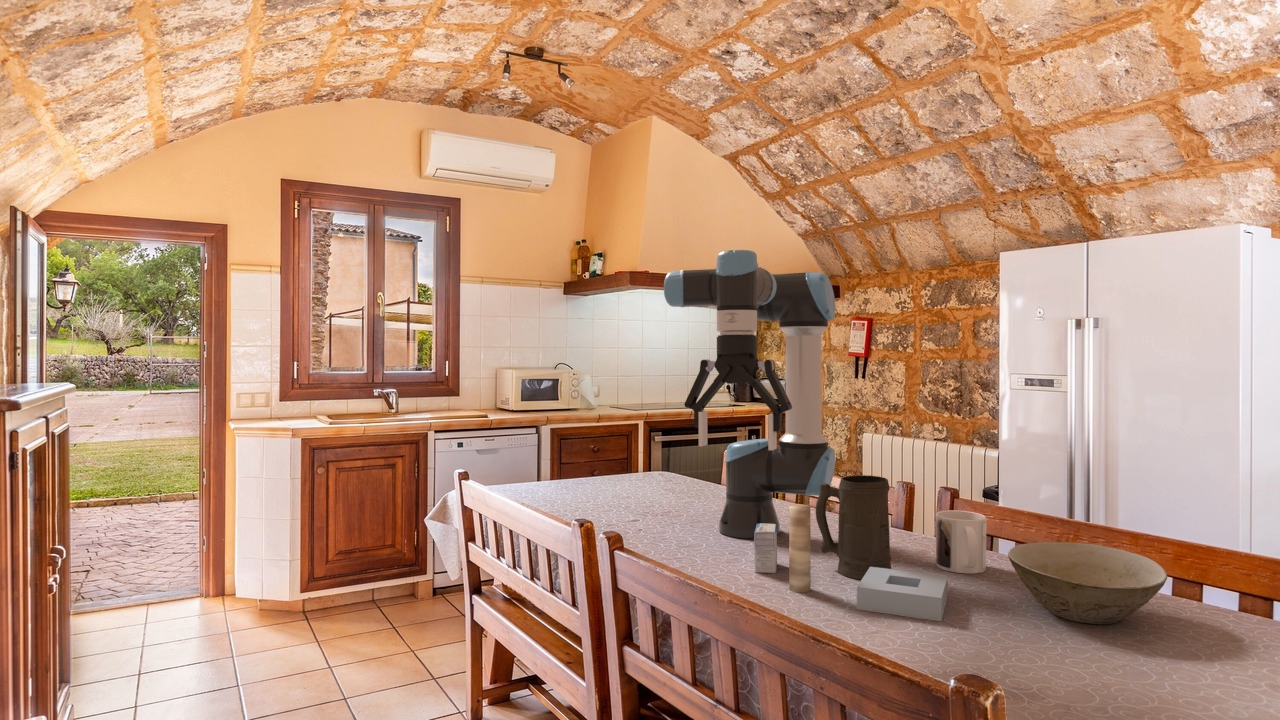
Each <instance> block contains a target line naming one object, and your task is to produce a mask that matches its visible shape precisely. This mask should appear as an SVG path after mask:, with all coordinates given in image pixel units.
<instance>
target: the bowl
mask: <svg viewBox="0 0 1280 720" xmlns="http://www.w3.org/2000/svg"><path fill="white" fill-rule="evenodd" d="M1007 556H1008V557H1007V558H1008V559H1009V561H1010V564H1011V566H1012V567H1013V569H1014V571H1015V572H1016V574H1017V575H1018V577H1019V579H1020V580H1021V582H1022V583H1023V584H1024V586H1026V588H1027V590H1028V591H1029V592H1030V593H1031V594H1032V595H1033V596H1034V598H1035V599H1036V600H1037V601H1038V602H1039V603H1040V604H1041V605H1042V606H1043V607H1044V608H1045V609H1046V610H1047V611H1049V613H1051V614H1053V615H1054V616H1057V617H1060V618H1062V619H1066V620H1069V621H1074V622H1078V623H1084V624H1085V623H1086V624H1092V625H1110V624H1116V623H1119V622H1121V621H1122V620H1124V619H1125V618H1127V617H1129V616H1131V615H1132V614H1133V613H1135V612H1136V611H1138V610H1139V609H1141V608H1142V607H1143V606H1145V605H1146V604H1147V603H1149V601H1150V600H1151V599H1152V598H1153V597H1155V595H1156V594H1158V593H1159V591H1161V589H1162V588H1163V587H1164V585H1165V584H1166V581H1167V579H1168V575H1167V572H1166V570H1165V569H1164V567H1162V566H1161V565H1160V564H1159V563H1157V562H1156V561H1154V560H1153V559H1151V558H1149V557H1146V556H1145V555H1141V554H1137V553H1135V552H1131V551H1127V550H1123V549H1119V548H1115V547H1110V546H1106V545H1105V546H1104V545H1100V544H1094V543H1093V544H1092V543H1084V542H1070V541H1069V542H1067V541H1066V542H1065V541H1059V542H1058V541H1055V542H1054V541H1048V542H1047V541H1043V542H1031V543H1029V542H1028V543H1022V544H1019V545H1015V546H1013V547H1012V548H1010V549H1009V551H1008V552H1007Z"/></svg>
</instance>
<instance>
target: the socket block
mask: <svg viewBox="0 0 1280 720" xmlns="http://www.w3.org/2000/svg"><path fill="white" fill-rule="evenodd" d="M948 578H949V577H948V575H943V574H935V573H928V572H927V573H926V572H921V571H919V572H918V571H910V570H900V569H894V568H891V569H886V568H878V567H870V568H869V569H868V571H867V572H866V574H865V575H864V577H863V578H862V580H860V582H859V583H858V585H857V586H856V610H858V611H865V612H866V611H867V612H872V613H881V614H886V615H887V614H888V615H895V616H902V617H908V618H916V619H922V620H930V621H935V622H936V621H937V622H942V620H943V618H944V617H943V616H944V612H945V610H946V609H945V608H946V605H947V601H948V598H949V597H948V596H949V594H948V590H949V589H948V588H949V586H948V585H949V584H948V583H949V582H948V580H949V579H948Z"/></svg>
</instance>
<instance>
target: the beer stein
mask: <svg viewBox="0 0 1280 720" xmlns="http://www.w3.org/2000/svg"><path fill="white" fill-rule="evenodd" d="M890 490H891V487H890V484H889V480H888V478H886V477H883V476H877V475H865V474H863V475H862V474H860V475H859V474H858V475H846V476H842V477H841V478H840V481H839V485H838V487H835V486H831V485H829V484H827V483H825V484H820V494H819V496H818V498H817V499H816V500H817V501H816V502H815V503H816V504H815V518H816V523H817V526H818V529H819V531H820V533H821V536H822V541H823V542H822V543H821V545H820V551H821V553H822V554H826V553H833V554H835V555H836V556H837V557H838V559H839V560H838V565H837V571H838V572H839V574H841V575H842V576H844V577H848V578H850V579H855V580H860V581H861V580H862V578H863V577H864V575H865V574H866V572H867V571H868V569H869V568H870V567H878V568H886V569H892V566H891V565H892V563H891V562H892V556H891V546H890V544H891V543H890V541H891V540H890V539H891V538H890V520H889V516H890V515H889V491H890ZM831 497H834V498H837V499H838V502H839V503H838V504H839V505H838V506H839V507H838V535H837V537H838V538H837V539H838V540H837V541H838V542H835V541H834V540H833V538H832V535H831V532H830V528H829V524H828V519H827V514H826V512H827V508H826V507H827V502H828V499H829V498H831Z"/></svg>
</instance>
